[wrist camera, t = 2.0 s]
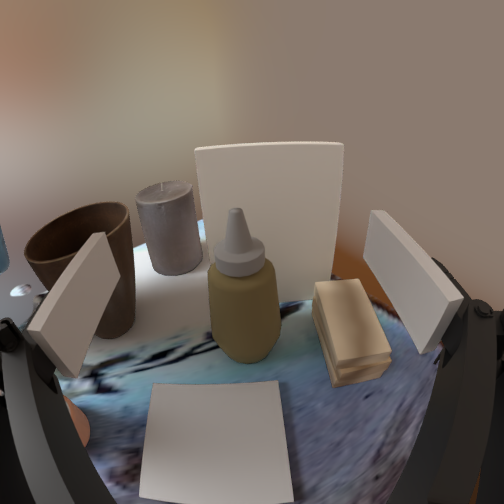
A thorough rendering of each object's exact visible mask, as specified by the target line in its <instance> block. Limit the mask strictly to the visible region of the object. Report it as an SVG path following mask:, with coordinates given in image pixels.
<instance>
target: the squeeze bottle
mask: <svg viewBox="0 0 504 504" xmlns="http://www.w3.org/2000/svg"><path fill="white" fill-rule="evenodd" d="M214 257H215V262H214V263H213V264H212V265H211V266H210V268H209V270H208V272H207V273H208V289H209V304H210V317H211V329H212V337H213V339H214V340H215V341H216V343H217V344H218V345H219V347H220V348H221V349H222V350H223V351H224V352H225V353H226V354H227V355H228V356H229V357H230V358H231V359H233V360H234V361H236V362H238V363H245V364H250V363H255V362H258V361H260V360H262V359H264V358H265V357H266V356H267V355H268V353H269V352H270V351H271V349H272V347H273V346H274V344H275V343H276V341H277V339H278V338H279V336H280V331H281V317H280V308H279V299H278V290H277V282H276V274H275V269H274V266H273V264H272V262H271V261H269V260H268V259H267V258H265V247H264V245H263V242H261V241H260V240H258V239H257V238H255V237H251V235H250V232H249V229H248V226H247V222H246V219H245V216H244V213H243V210H242V209H241V208H232V209H230V210H229V213H228V220H227V228H226V235H225V239H223V240H221V241H220V242H219V243H217V244H216V246H215V248H214Z"/></svg>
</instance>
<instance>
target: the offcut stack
mask: <svg viewBox="0 0 504 504" xmlns="http://www.w3.org/2000/svg"><path fill="white" fill-rule="evenodd" d="M314 295H315V296H313V302H312V317H313V320H314V323H315V327H316V330H317V333H318V337H319V340H320V344H321V347H322V351H323V354H324V358H325V362H326V365H327V369H328V372H329V376H330V380H331V384H332V387H333V388H335V387H340V386H346V385H350V384H355V383H360V382H364V381H368V380H372V379H376V378H380V377H381V375H382V374H383V372H384V370H387V368H388V367H389V365H390V363H391V362H392V360H391V358H390V356H389V355H390V354H391V352H392V350H391V348H390V345H389V343H388V341H387V338H386V336H385V334H384V331H383V329H382V327H381V325H380V322H379V320H378V318H377V316H376V314H375V311H374V309H373V307H372V305H371V303H370V301H369V299H368V297H367V295H366V293H365V291H364V288H363V287H362V284H361V282H360V280H359V279H350V280H337V281H324V282H315V287H314Z"/></svg>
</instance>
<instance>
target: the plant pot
mask: <svg viewBox="0 0 504 504" xmlns="http://www.w3.org/2000/svg"><path fill="white" fill-rule="evenodd" d="M100 232H105V234H106V237H107V240H108V243H109V246H110V249H111V252H112V254H113V257H114V260H115V263H116V265H117V268H118V271H119V273H120V278H119V280H118V282H117V284H116V287H115V289H114V291H113V293H112V295H111V297H110V299H109V301H108V303H107V306H106V308H105V310H104V312H103V315H102V317H101V319H100V321H99V324H98V326H97V328H96V331H95V333H94V334H95V335H97V336H98V337H100V338H104V339H112V338H116V337H119V336H121V335H122V334H124V333H125V332H127V331H128V330H129V329H130V328H131V326H132V325H133V323H134V320H135V304H136V290H135V267H134V254H133V243H132V234H131V226H130V216H129V209H128V207H127V206H126V205H124V204H123V203H119V202H100V203H94V204H89V205H86V206H83V207H79V208H77V209H74V210H71V211H69V212H67V213H65V214H63V215H61V216H59V217H57V218H55V219H53V220H52V221H51V222H49V223H47V224H46V225H45V226H43V227H42V228H41V229H40V230H38V231H37V232H36V233H35V234H34V235H33V236H32V237H31V239H30V240H29V241H28V243H27V245H26V247H25V250H24V255H25V258H26V259H27V261H28V263H29V264H30V266H31V267H32V269H33V271H34V272H35V273H36V275H37V276H38V278H39V279H40V281H41V282H42V284H43V285H44V286H45V288H46V289H47V290H48V291H50V290H51V289H52V288H53V286H54V285H55V283H56V282H57V280H58V279H59V277H60V276H61V275H62V273H63V272H64V270H65V269H66V268H67V266H68V265H69V263H70V262H71V261H72V259H73V258H74V257H75V255H76V254H77V253H78V251H79V250H80V249H81V248H82V246H83V245H84V244H85V242H86V241H87V240H88V239H89V237H90V236H91V235H92V234H93V233H100Z"/></svg>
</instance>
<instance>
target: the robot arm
mask: <svg viewBox="0 0 504 504" xmlns="http://www.w3.org/2000/svg"><path fill="white" fill-rule="evenodd" d="M363 258H364V260H365V261H366V263H367V264H368V266H369V267H370V269H371V271H372V272H373V273H374V275H375V277H376V278H377V280H378V282H379V283H380V285H381V286H382V288H383V290H384V291H385V293H386V294H387V296H388V298H389V299H390V301H391V303H392V304H393V306H394V308H395V310H396V311H397V313H398V315H399V317H400V318H401V320H402V322H403V324H404V326H405V327H406V329H407V331H408V333H409V335H410V336H411V338H412V340H413V342H414V344H415V346H416V348H417V350H418V352H419V353H420V355H421V354H424V353H427V352H430V351H433V350H435V349H436V347H437V346H438V344H439V342H440V341H441V340H442V342H443V344H444V347H443V349H442V351H441V352H440V354H439V355H438V357H437V358H436V359H435V361H434V363H433V364H435V365H436V363H437V362H438V360H440V361H439V365H438V370H437V374H436V378H435V382H434V386H433V390H432V394H431V397H430V401H429V404H428V408H427V411H426V414H425V417H424V420H423V423H422V426H421V429H420V431H419V434H418V437H417V439H416V442H415V445H414V447H413V450H412V452H411V454H410V457H409V459H408V461H407V463H406V466H405V468H404V470H403V472H402V474H401V476H400V478H399V480H398V482H397V484H396V486H395V488H394V490H393V492H392V494H391V496H390V497H389V499H388V501H387V503H386V504H469V501H470V498H471V495H472V493H473V490H474V487H475V484H476V481H477V478H478V475H479V472H480V468H481V473H480V481H479V488H478V494H477V499H476V504H504V309H503V311H493V309H492V308H491V307H490V306H489V305H488V304H487V303H486V302H484V301H482V300H478V299H475V300H472V299H471V298H470V297H469V295H468V294H467V293H466V292H465V290H464V289H463V288H462V287H461V285H460V284H459V283H458V282H457V281H456V279H454V277H453V276H452V275H451V274H450V273H449V272H448V270H447V269H446V268H445V267H444V266H443V264H441V263H440V262H438V261H437V260H436V259H434V258H430V257H429V256H428V254H427V253H426V252H425V251H424V250H423V249H422V248H421V247H420V246H419V245H418V244H417V243H416V242H415V241H414V239H412V237H411V236H410V235H409V234H408V233H407V232H406V231H405V230H404V229H403V228H402V227H401V226H400V225H399V224H398V223H397V222H396V221H395V220H394V219H393V218H391V216H390V215H388V214H387V213H386V212H385V211H384V210H371V213H370V220H369V226H368V232H367V238H366V243H365V249H364V255H363ZM9 263H10V262H9V256H8V252H7V248H6V244H5V241H4V237H3V234H2V230H1V226H0V275H1V274H2V273H3V272H5V271H6V270H7V269H8V267H9ZM119 278H120V273H119V271H118V268H117V265H116V263H115V260H114V257H113V254H112V252H111V249H110V246H109V243H108V240H107V237H106V234H105V232H100V233H93V234H92V235H91V236H90V237H89V239H88V240H87V241H86V242H85V244H84V245H83V246H82V248H81V249H80V250H79V251H78V253H77V254H76V255H75V257H74V258H73V259H72V261H71V262H70V263H69V265H68V266H67V268H66V269H65V270H64V272H63V273H62V275H61V276H60V277H59V279H58V280H57V282H56V283H55V285H54V286H53V288H52V289H51V290H50V291H49V292H48V293H47V294H46V295H45V296H44V297H43V299H42V301H41V302H40V305H38V307H37V308H36V311H35V312H34V313H33V315H32V317H31V318H30V320H29V322H28V323H27V325H26V327H25V329H24V330H23V332H22V333H21V332H20V331H19V329H18V328H17V327H16V325H15V324H14V322H13V321H12V319H10V318H3V319H1V320H0V390H1V391H2V394H1V396H0V504H117V503H116V501H115V500H114V498H113V497H112V495H111V494H110V492H109V491H108V489H107V487H106V486H105V484H104V483H103V481H102V479H101V477H100V476H99V474H98V472H97V470H96V469H95V467H94V465H93V463H92V461H91V459H90V457H89V455H88V453H87V451H86V449H85V447H84V445H83V443H82V441H81V439H80V437H79V434H78V432H77V430H76V427H75V425H74V423H73V420H72V418H71V415H70V413H69V410H68V407H67V405H66V402H65V399H64V396H63V393H62V390H61V387H60V384H59V381H58V379H57V377H56V375H55V374H54V371H55V369H56V368H57V369H58V370H59V371H60V373H61V374H62V375H63V376H66V377H71V378H78V375H79V372H80V369H81V367H82V364H83V361H84V358H85V356H86V353H87V351H88V348H89V346H90V343H91V341H92V338H93V336H94V333H95V331H96V328H97V326H98V324H99V321H100V319H101V317H102V315H103V312H104V310H105V308H106V306H107V303H108V301H109V299H110V297H111V295H112V293H113V291H114V289H115V287H116V284H117V282H118V280H119Z"/></svg>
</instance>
